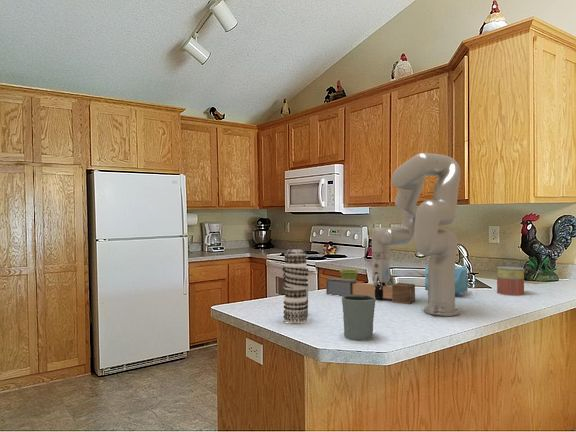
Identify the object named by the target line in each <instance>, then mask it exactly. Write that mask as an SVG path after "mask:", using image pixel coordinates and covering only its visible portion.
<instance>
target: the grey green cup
mask: <svg viewBox="0 0 576 432" xmlns="http://www.w3.org/2000/svg"><path fill="white" fill-rule="evenodd" d="M376 300H377V298H375V297H373V296H368V295H345V296H341V304H342V313H343V315H342V316H343V334H344V338H346V339H348V340H350V341H351V340H352V341H370V339H373V335H374V332H373V331H374V320H375V307H376Z"/></svg>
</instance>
